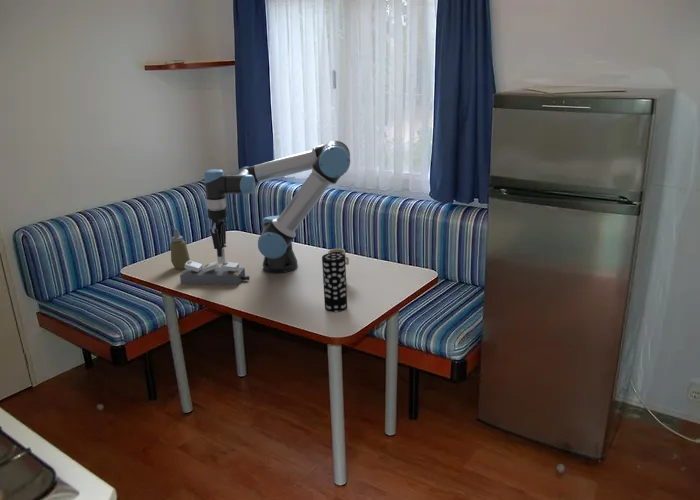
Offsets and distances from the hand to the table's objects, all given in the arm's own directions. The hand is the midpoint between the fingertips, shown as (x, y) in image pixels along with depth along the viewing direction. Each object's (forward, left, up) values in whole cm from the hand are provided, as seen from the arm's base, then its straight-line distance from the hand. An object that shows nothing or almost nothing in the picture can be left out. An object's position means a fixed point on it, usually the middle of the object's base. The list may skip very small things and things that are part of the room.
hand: (221, 262), depth 243 cm
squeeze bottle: (+25, -14, -8) cm, 29 cm away
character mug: (-48, -1, -8) cm, 49 cm away
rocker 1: (+13, 0, -2) cm, 13 cm away
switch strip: (+3, 0, -8) cm, 8 cm away
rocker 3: (-3, 0, -2) cm, 4 cm away
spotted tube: (-51, +24, -8) cm, 57 cm away
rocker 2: (+5, 0, -2) cm, 5 cm away
